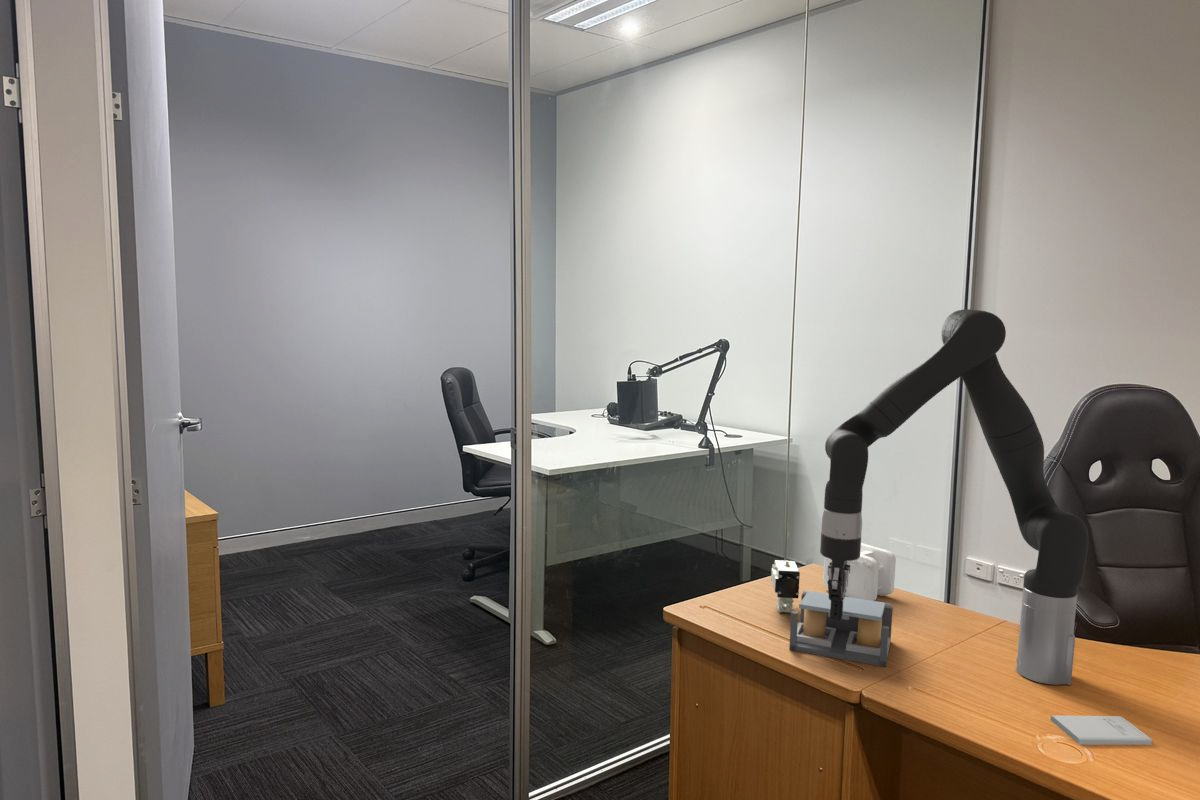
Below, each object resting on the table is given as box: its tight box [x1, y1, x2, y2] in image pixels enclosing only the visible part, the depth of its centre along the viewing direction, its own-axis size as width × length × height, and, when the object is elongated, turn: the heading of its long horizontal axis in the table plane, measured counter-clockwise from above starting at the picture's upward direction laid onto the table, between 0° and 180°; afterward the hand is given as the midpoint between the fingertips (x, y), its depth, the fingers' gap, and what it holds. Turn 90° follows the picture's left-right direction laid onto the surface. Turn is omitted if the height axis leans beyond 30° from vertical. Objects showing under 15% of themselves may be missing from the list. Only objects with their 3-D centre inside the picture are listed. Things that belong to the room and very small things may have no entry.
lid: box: [798, 590, 886, 621], centre depth 172 cm, size 16×13×1 cm
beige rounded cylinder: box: [857, 618, 882, 648], centre depth 171 cm, size 5×5×6 cm
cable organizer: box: [822, 542, 897, 601], centre depth 205 cm, size 15×11×12 cm
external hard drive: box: [1050, 715, 1153, 746], centre depth 140 cm, size 2×8×12 cm
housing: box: [789, 590, 894, 668], centre depth 173 cm, size 19×14×8 cm
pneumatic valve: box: [770, 559, 801, 614], centre depth 193 cm, size 6×12×12 cm, turn 174°
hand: (836, 618), depth 162 cm, fingers closed
